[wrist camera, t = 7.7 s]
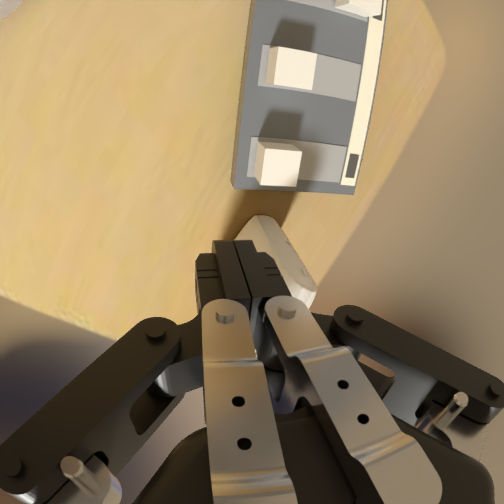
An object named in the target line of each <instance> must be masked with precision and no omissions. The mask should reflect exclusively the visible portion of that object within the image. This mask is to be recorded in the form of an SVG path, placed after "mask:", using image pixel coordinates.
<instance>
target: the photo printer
mask: <svg viewBox="0 0 504 504" xmlns="http://www.w3.org/2000/svg"><path fill="white" fill-rule="evenodd" d="M234 240H252V241H253V243H254V246H255V248H256V250H257V252H266V253H267V254H268V255H270V256H271V257H272V258H273V259H274V260H275V262H276V264H277V266H278V269H279V270H280V272H281V275H282V276H283V279H284V281H285V283H286V285H287V287H288V289H289V291H290V293H291V295H292V297H294V298H297V299H299V300H301V301H302V302H303V303H304V304H305V305H306V306H307V308H308V309H309V307H310V305H311V303H312V302H313V299H314V297H315V294H316V292H317V286H316V283H315V282H314V280H313V279H312V277H311V275H310V274H309V272H308V270H307V269H306V267H305V265H304V264H303V262H302V261H301V259H300V257H299V256H298V254H297V252H296V251H295V249H294V248H293V246H292V244H291V243H290V241H289V240H288V238H287V236H286V235H285V233H284V232H283V230H281V228H280V227H279V225H278V224H277V222H276V221H275V220H274V219H273V218H271V217H270V216H266V215H258V216H257V215H255V216H253V217H252V218H251V219H250V220H249V221H248V222H247V224H246V225H245V226H244V227H243V229H242V230H241V231H240V233H239V234H238V235H237V237H236V238H235V239H234ZM255 353H256V350H255ZM256 357H257V353H256Z"/></svg>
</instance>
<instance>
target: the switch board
mask: <svg viewBox="0 0 504 504" xmlns="http://www.w3.org/2000/svg"><path fill="white" fill-rule="evenodd" d="M335 1H336V0H251V6H250V13H249V21H248V28H247V36H246V44H245V52H244V61H243V69H242V78H241V86H240V95H239V104H238V113H237V123H236V132H235V142H234V152H233V162H232V173H231V183H232V186H233V188H234V189H249V190H277V191H299V192H317V193H332V194H347V195H354V192H355V188H356V183H357V179H358V175H359V171H360V166H361V162H362V157H363V153H364V148H365V143H366V138H367V134H368V129H369V124H370V118H371V113H372V108H373V102H374V97H375V91H376V85H377V79H378V73H379V67H380V60H381V53H382V46H383V38H384V30H385V22H386V13H387V3H388V0H382V7H381V15H376V16H370V17H363V16H360V15H357V14H354V13H351V12H348V11H345V10H341V9H338V8H335ZM278 46H279V47H285V48H291V49H296V50H302V51H307V52H312V53H316V54H317V59H316V66H315V73H314V79H313V86H312V90H307V89H301V88H295V87H288V86H281V85H273V84H268V83H265V80H266V72H267V64H268V57H269V49H270V48H273V47H278ZM258 141H260V142H273V143H285V144H292V145H294V146H295V147H297V148H298V149H299V150H301V151H302V156H301V161H300V167H299V173H298V179H297V185H296V187H290V186H269V185H260V184H259V182H258V181H257V179H256V178H255V176H254V168H255V160H256V152H257V144H258Z"/></svg>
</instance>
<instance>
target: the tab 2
mask: <svg viewBox="0 0 504 504" xmlns="http://www.w3.org/2000/svg"><path fill="white" fill-rule="evenodd" d="M381 7H382V0H336V1H335V8H338V9H341V10H345V11H348V12H351V13H354V14H357V15H360V16H363V17H370V16H376V15H381Z"/></svg>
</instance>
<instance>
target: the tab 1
mask: <svg viewBox="0 0 504 504" xmlns="http://www.w3.org/2000/svg"><path fill="white" fill-rule="evenodd" d="M301 156H302V151H301V150H299V149H298V148H297V147H295V146H294V145H292V144H285V143H273V142H260V141H258V144H257V152H256V160H255V168H254V176H255V178H256V179H257V181H258V182H259V184H260V185H269V186H290V187H296V185H297V179H298V173H299V167H300V161H301Z"/></svg>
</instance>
